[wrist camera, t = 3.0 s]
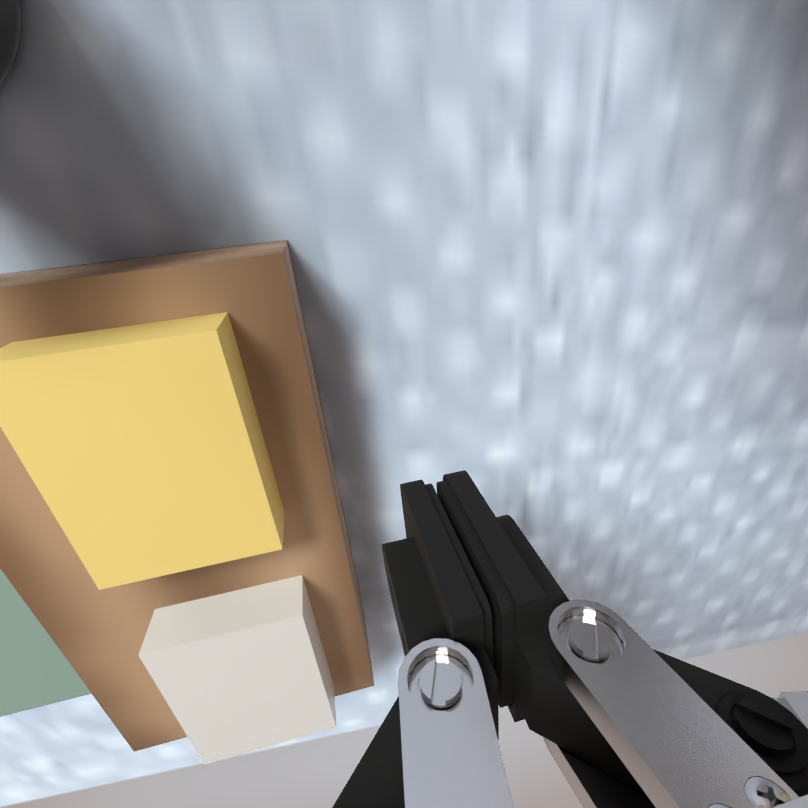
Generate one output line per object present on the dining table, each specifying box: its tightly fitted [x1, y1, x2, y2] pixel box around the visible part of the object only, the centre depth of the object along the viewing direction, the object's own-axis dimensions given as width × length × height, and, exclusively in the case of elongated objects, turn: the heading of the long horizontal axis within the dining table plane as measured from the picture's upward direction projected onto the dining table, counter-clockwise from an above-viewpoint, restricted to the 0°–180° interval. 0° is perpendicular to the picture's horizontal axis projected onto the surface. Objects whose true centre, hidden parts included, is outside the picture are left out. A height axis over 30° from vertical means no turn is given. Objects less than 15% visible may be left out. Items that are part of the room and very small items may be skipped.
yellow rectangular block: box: [0, 312, 285, 590], centre depth 14 cm, size 6×8×2 cm
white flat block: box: [139, 575, 336, 764], centre depth 19 cm, size 6×8×2 cm
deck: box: [0, 240, 374, 751], centre depth 19 cm, size 12×22×4 cm, turn 6°
